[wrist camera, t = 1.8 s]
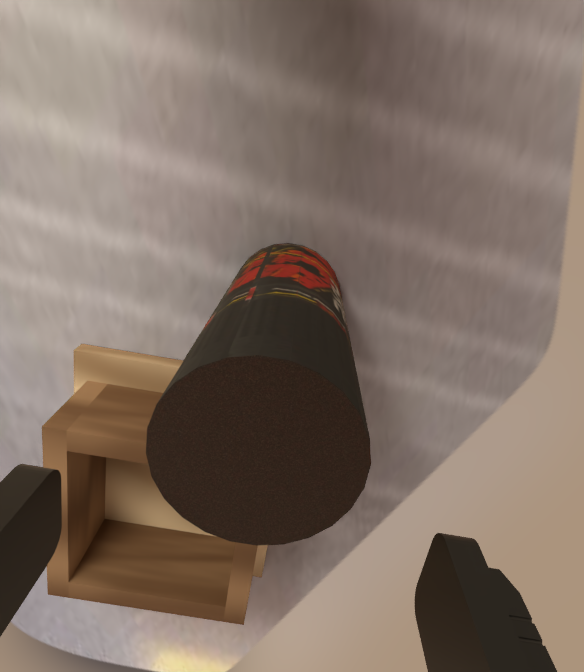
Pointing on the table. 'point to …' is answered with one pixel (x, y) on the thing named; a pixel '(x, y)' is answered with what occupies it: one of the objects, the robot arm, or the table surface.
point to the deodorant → (265, 408)
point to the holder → (132, 502)
